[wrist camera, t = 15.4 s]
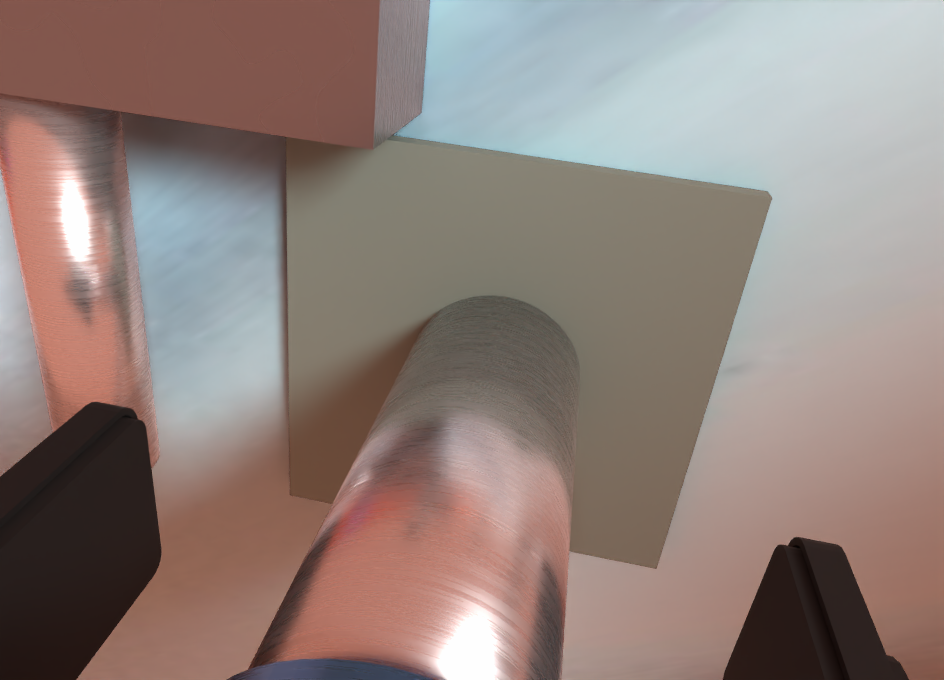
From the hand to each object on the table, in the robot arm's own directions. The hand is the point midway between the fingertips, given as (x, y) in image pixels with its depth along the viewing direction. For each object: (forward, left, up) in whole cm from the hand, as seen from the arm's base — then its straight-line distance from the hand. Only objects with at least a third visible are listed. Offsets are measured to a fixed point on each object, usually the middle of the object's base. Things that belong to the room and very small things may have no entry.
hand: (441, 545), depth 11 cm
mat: (0, 0, -6) cm, 6 cm away
